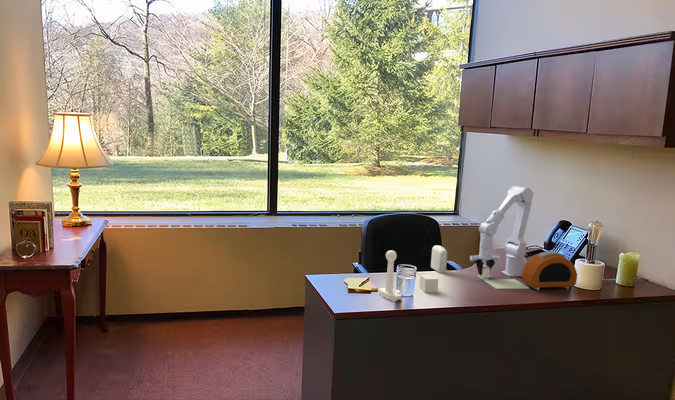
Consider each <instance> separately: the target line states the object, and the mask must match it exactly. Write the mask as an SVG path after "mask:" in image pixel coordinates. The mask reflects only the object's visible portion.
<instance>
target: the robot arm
mask: <svg viewBox="0 0 675 400" xmlns="http://www.w3.org/2000/svg"><path fill="white" fill-rule="evenodd" d="M533 196H534V192H533V190H532V189H531V187H524V186H519V185H516V184H515V185H512V186H510V188H509V189H508V191H507V195H506V197H505V199H504V200H503V201H502V203H501V205H500V206H499V207H498V209H495V210H493V211H492V212H491V214H490V215H489V216H488V218H487V219H486V220H485V221H483V222H481V223H480V225H479V227H478V231H479V235H480V240H479V241H480V242H479V253H478V254H477V255H476V254H475V255H470V256H469V261H471V262H472V261H474V263H475V265H476V268H477V275H478V274H479V275H482V268H483V264H484V265H486V266H488V267H489V268H490V271H491V270H492V268H493V267H494V265H495V264H496V261H498V262H499V261H501V256H499V255H494V254H493V244H494V236H495V234H497V232H498V228H499V225H500V224H501V222H502V221H503V220H504V219H505V214H506V213H507V212H508V210H509V209H511V207H512V206H513V205H514V204H515V203H517V204H518V209H517V213H516V217H515V221H514V226H513V230H512V234H511V236H510V237H508V238H507V240H506V242H505V244H504V247H503V251H504V253H505V256H506V260H505V269H504V270H501V272H502V273H503V274H505V275H506V276H508V277H522V271H523V269H524V267H525V265H526V263H527V262H528V260H527V258H526V257H525V256H526V254H527V242H526V241H525V239H524V237H525V233H526V229H527V225H528V221H529V216H530V212H531V208H532V203H533V198H534V197H533ZM492 254H493V255H492ZM483 261H485V263H484V262H483Z"/></svg>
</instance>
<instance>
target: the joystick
mask: <svg viewBox="0 0 675 400" xmlns="http://www.w3.org/2000/svg"><path fill="white" fill-rule="evenodd" d="M385 259H386V260H387V269H386V271H387V272H386V281H385V287H380V288H378V295H379V294H380V295H381V296H380V295H379V296H380V297H382V296H383V297H385V298H387V299H386V300H388V299H389V300H388V301H390V300H392V302H394V301H397V302H398V301H401V300H402V294H401V291H400V290H398V289H394V269H395V268H394V266H395V265H394V264H395V261H396V259H397V252H396V251H395V250H388V251H386V253H385ZM383 297H382V298H383ZM385 298H384V299H385Z"/></svg>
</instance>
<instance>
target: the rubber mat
mask: <svg viewBox="0 0 675 400" xmlns="http://www.w3.org/2000/svg"><path fill="white" fill-rule="evenodd" d="M483 281H484V282H485V283H487V284H488V285H489V286H491V287H492V288H494V289H495V290H530V286H528V285H526V284H524V283H522V282H521V281H519V280H517V279H515V278H510V279H509V278H508V279H507V278H504V279H502V278H499V279H497V278H496V279H493V278H492V279H490V278H489V279H484V280H483Z"/></svg>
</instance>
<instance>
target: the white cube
mask: <svg viewBox="0 0 675 400" xmlns="http://www.w3.org/2000/svg"><path fill="white" fill-rule="evenodd" d="M419 289H420V290H421V291H422V290H423V291H422V292H424V293H437V292H436V291H438V289H439V278H438V277H436V276H435V275H434V274H420V276H419ZM438 292H439V291H438Z"/></svg>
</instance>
